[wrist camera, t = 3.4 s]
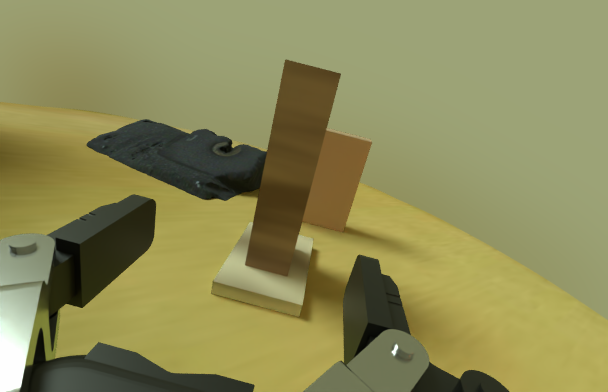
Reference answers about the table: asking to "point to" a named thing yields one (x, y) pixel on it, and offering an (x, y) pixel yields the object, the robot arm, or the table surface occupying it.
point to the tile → (336, 179)
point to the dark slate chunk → (185, 158)
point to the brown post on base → (283, 198)
